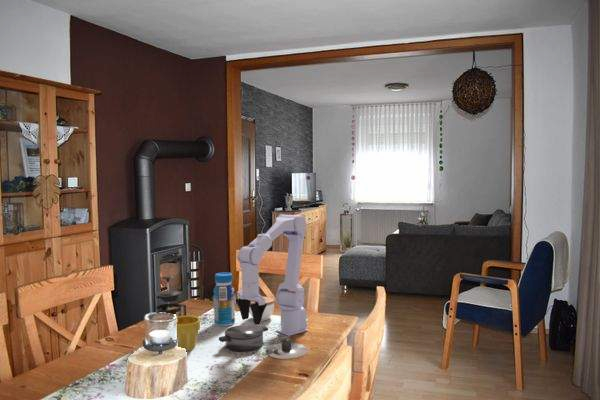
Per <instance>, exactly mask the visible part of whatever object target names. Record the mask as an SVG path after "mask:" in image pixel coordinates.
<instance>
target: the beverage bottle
mask: <svg viewBox="0 0 600 400" xmlns="http://www.w3.org/2000/svg"><path fill="white" fill-rule="evenodd" d="M214 282H215V283H216V284H215V286H214V288H213V297H212V300H213V314H214V317H213V318H214V321H213V323H214V325H215V326H218V327H228V326H232V325H234V324H235V322H236V318H235V315H236V314H235V300H236V297H235V294H234V293H235V288H234V286H233V284H232V282H233V274H232V273H231V272H227V271H226V272H225V271H223V272H218V273H215V275H214Z"/></svg>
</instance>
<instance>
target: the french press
mask: <svg viewBox="0 0 600 400" xmlns="http://www.w3.org/2000/svg"><path fill="white" fill-rule="evenodd" d="M161 279H162V280H165V281H166V283H167V290H163V291H158V292H157V293H155V296H156V298H157V299H160V300H161V301H163V302H165V303H163V304H159V305H157V306H156V307H155V313H159V312H166V313H170V314H171V315H172V314H176V315H177V313H178V317H180V316H187V305H186V304H185V303H173V302H176V301H178V300H180V298H181V294H182V292H181V291H179V290H173V289H172V290H170V289H169V288H170V287H169V283H170V280H172V279H174V276H172V275H166V276H162V277H161ZM170 308H173V309H170ZM182 309H183V310H182ZM182 311H183V315H182ZM159 314H160V313H159Z"/></svg>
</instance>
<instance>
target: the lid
mask: <svg viewBox="0 0 600 400" xmlns="http://www.w3.org/2000/svg"><path fill="white" fill-rule="evenodd" d="M265 352H266V353H265V354H266V355H267V356H269V357H270V358H271V357H272V358H275V359H279V360H280V359H281V360H290V359H297V358H301V357H303V356H305V355H307V353H308V347H307V346H305V345H304V344H301V343H297V342H292V338H291V337H284V338H281V342H279V343H274V344H272V345H271V344H270V345H269V346H268V347H267V348H266V349H265Z"/></svg>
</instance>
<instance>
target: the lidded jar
mask: <svg viewBox="0 0 600 400" xmlns="http://www.w3.org/2000/svg"><path fill="white" fill-rule="evenodd" d="M262 298H264V299H265V303H266V304H267V306H266V308H265V310H264V312H263V315H262V319H261V322H263V321H267V320H269V319H270V317H271V316H272V315H273V313H274V309H275V299H274V297H269V296H262ZM251 304H255V302H252V301H251V303H250V305H251ZM249 315H250V316H251V317H252V318H253V314H252V310H251V308H249Z"/></svg>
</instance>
